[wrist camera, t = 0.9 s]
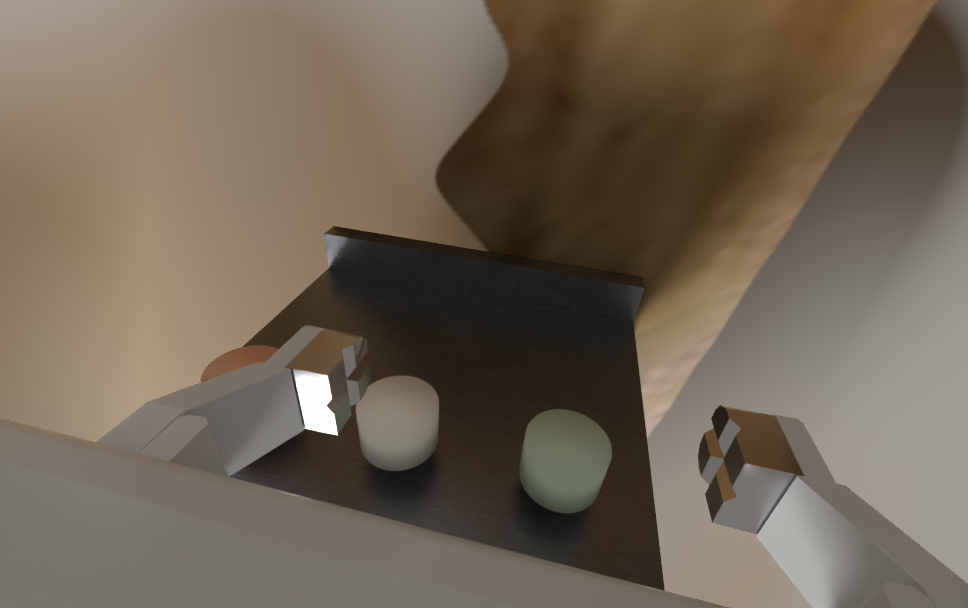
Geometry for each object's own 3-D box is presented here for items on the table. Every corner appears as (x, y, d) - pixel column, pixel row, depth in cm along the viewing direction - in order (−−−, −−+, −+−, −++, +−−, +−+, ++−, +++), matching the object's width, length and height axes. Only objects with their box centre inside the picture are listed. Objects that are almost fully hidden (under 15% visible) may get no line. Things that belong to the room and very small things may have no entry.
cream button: (376, 369, 28) (340, 425, 24) (448, 384, 27) (423, 445, 23) (379, 401, 30) (346, 460, 26) (447, 417, 29) (423, 479, 25)
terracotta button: (237, 339, 29) (181, 388, 25) (302, 353, 29) (255, 405, 25) (247, 372, 31) (196, 423, 27) (309, 386, 30) (266, 440, 26)
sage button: (530, 401, 26) (519, 468, 23) (610, 418, 26) (613, 490, 22) (524, 434, 28) (513, 501, 24) (599, 451, 27) (600, 522, 24)
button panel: (333, 226, 46) (-47, 519, 19) (642, 277, 42) (727, 758, 14) (345, 317, 53) (76, 632, 26) (613, 370, 48) (632, 819, 21)
